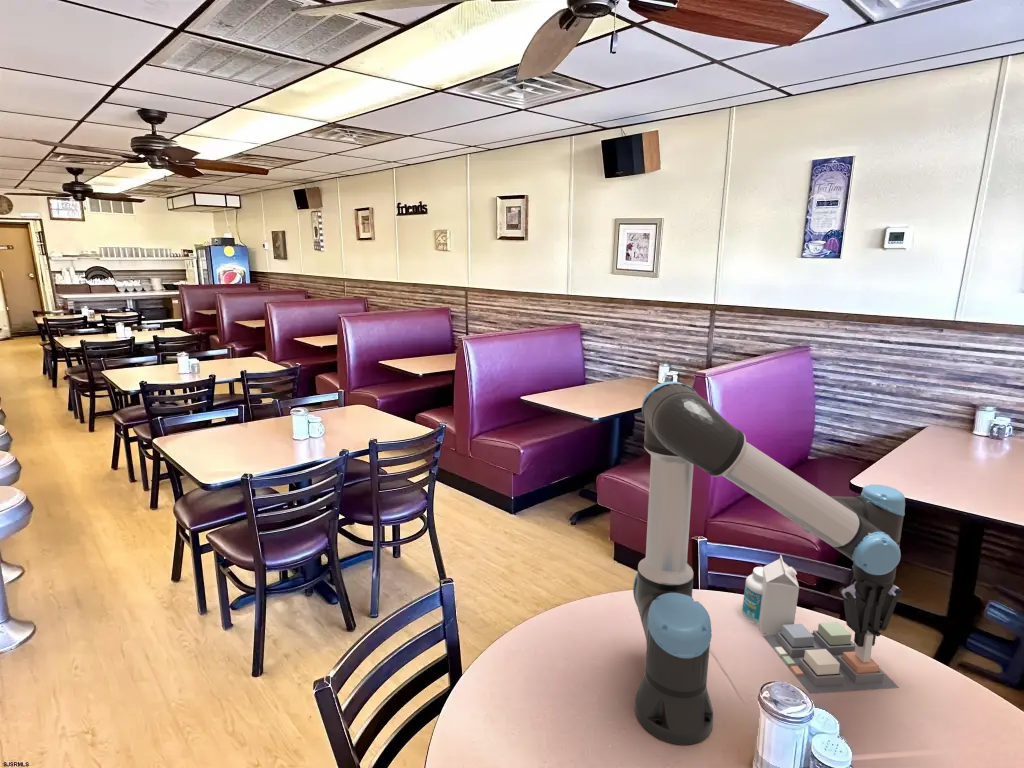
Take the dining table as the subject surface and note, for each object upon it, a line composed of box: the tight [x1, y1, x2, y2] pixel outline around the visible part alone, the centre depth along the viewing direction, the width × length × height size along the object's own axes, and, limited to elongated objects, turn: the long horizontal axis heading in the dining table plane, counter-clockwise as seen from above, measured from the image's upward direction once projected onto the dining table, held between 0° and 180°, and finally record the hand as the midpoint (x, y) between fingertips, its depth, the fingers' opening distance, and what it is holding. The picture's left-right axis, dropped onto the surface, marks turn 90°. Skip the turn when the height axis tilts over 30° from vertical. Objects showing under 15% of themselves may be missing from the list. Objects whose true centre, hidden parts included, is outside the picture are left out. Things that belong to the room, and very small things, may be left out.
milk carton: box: [757, 554, 800, 635], centre depth 138 cm, size 7×7×19 cm
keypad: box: [762, 629, 900, 695], centre depth 128 cm, size 20×19×3 cm
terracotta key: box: [842, 652, 880, 674], centre depth 123 cm, size 5×5×2 cm
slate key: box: [782, 623, 814, 647], centre depth 131 cm, size 5×5×2 cm
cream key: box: [804, 649, 840, 675], centre depth 122 cm, size 5×5×2 cm
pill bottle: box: [741, 566, 764, 624], centre depth 143 cm, size 8×7×14 cm
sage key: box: [817, 621, 852, 645], centre depth 132 cm, size 5×5×2 cm
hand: (862, 657), depth 123 cm, fingers closed
